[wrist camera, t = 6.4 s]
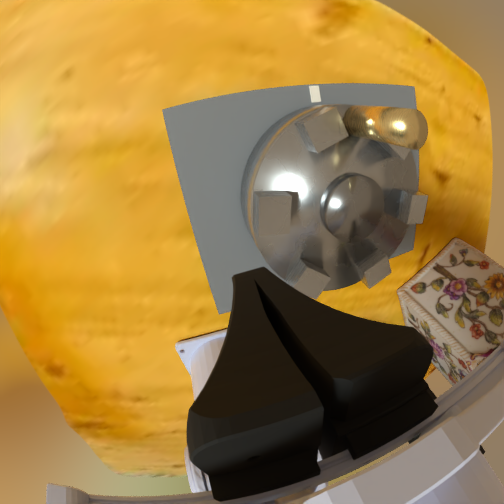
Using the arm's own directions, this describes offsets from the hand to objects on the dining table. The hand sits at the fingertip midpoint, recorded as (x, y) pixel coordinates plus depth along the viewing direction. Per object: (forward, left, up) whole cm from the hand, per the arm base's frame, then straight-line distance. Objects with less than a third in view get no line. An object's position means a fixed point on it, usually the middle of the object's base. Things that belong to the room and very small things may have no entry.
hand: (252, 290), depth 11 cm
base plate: (0, -8, -10) cm, 13 cm away
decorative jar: (-17, -25, -11) cm, 32 cm away
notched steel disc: (0, -8, -9) cm, 12 cm away
